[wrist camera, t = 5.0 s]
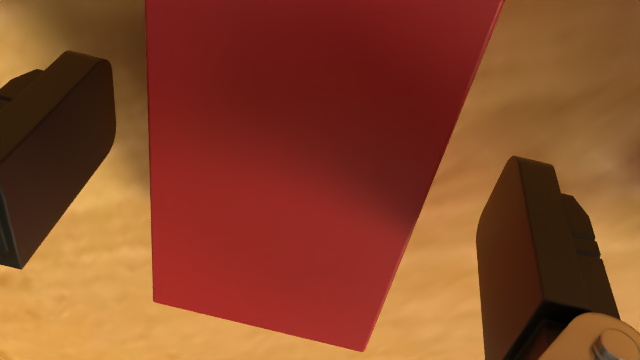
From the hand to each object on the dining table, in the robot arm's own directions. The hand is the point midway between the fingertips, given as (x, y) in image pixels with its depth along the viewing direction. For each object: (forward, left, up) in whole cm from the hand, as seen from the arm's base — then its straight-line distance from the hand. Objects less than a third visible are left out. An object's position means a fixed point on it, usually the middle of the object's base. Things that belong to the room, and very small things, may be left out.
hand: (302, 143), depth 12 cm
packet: (0, 0, -2) cm, 2 cm away
